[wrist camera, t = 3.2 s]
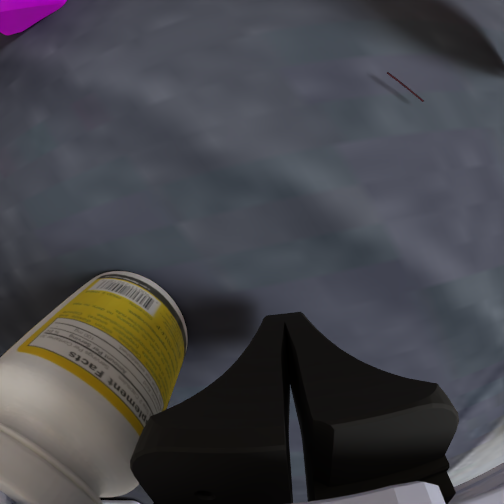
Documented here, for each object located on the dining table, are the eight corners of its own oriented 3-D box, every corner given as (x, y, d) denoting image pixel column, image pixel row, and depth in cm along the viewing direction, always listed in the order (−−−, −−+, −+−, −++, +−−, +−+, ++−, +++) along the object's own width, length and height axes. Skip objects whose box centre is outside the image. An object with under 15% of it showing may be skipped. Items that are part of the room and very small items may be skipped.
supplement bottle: (118, 381, 14) (35, 536, 4) (63, 289, 12) (-84, 417, 3) (212, 360, 13) (162, 575, 4) (155, 248, 12) (-29, 432, 2)
